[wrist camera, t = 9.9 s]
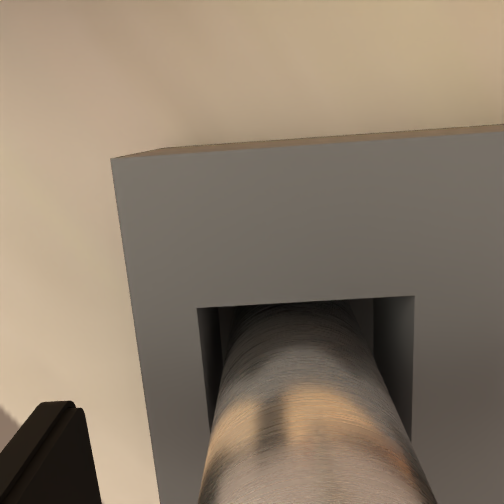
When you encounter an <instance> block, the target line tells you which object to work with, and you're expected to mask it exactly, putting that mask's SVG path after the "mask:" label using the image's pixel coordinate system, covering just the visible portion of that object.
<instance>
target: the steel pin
mask: <svg viewBox="0 0 504 504" xmlns="http://www.w3.org/2000/svg"><path fill="white" fill-rule="evenodd" d="M198 504H438V503H437V501H436V498H435V496H434V494H433V492H432V489H431V487H430V485H429V483H428V480H427V478H426V476H425V473H424V471H423V469H422V467H421V464H420V462H419V460H418V458H417V455H416V453H415V451H414V449H413V446H412V444H411V442H410V440H409V437H408V435H407V433H406V430H405V428H404V426H403V424H402V421H401V419H400V417H399V415H398V412H397V410H396V408H395V406H394V403H393V401H392V399H391V396H390V394H389V392H388V390H387V387H386V385H385V383H384V381H383V378H382V376H381V374H380V372H379V369H378V367H377V365H376V363H375V360H374V358H373V356H372V353H371V351H370V349H369V347H368V344H367V342H366V340H365V338H364V335H363V333H362V331H361V329H360V326H359V324H358V322H357V320H356V317H355V315H354V313H353V310H352V308H351V306H350V304H349V302H348V300H347V299H344V300H327V301H309V302H292V303H275V304H257V305H240V306H236V308H235V311H234V314H233V318H232V323H231V329H230V334H229V339H228V345H227V350H226V355H225V361H224V366H223V371H222V376H221V382H220V387H219V392H218V398H217V403H216V408H215V414H214V419H213V424H212V430H211V435H210V440H209V445H208V451H207V456H206V461H205V467H204V472H203V477H202V483H201V488H200V493H199V498H198Z"/></svg>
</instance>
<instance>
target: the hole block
mask: <svg viewBox="0 0 504 504" xmlns="http://www.w3.org/2000/svg"><path fill="white" fill-rule="evenodd" d="M110 160H111V167H112V174H113V181H114V188H115V195H116V202H117V208H118V215H119V222H120V229H121V236H122V243H123V250H124V257H125V264H126V271H127V278H128V284H129V291H130V298H131V305H132V312H133V319H134V326H135V333H136V340H137V347H138V354H139V360H140V367H141V374H142V381H143V388H144V395H145V402H146V409H147V416H148V423H149V430H150V436H151V443H152V450H153V457H154V464H155V471H156V478H157V485H158V492H159V499H160V504H198V498H199V493H200V488H201V483H202V477H203V472H204V467H205V461H206V456H207V451H208V445H209V440H210V435H211V430H212V424H213V419H214V414H215V408H216V403H217V398H218V392H219V387H220V382H221V376H222V371H223V366H224V361H225V355H226V350H227V345H228V339H229V334H230V329H231V323H232V318H233V314H234V311H235V308H236V306H240V305H257V304H275V303H292V302H309V301H327V300H344V299H347V300H348V302H349V304H350V306H351V308H352V310H353V313H354V315H355V317H356V320H357V322H358V324H359V326H360V329H361V331H362V333H363V335H364V338H365V340H366V342H367V344H368V347H369V349H370V351H371V353H372V356H373V358H374V360H375V363H376V365H377V367H378V369H379V372H380V374H381V376H382V378H383V381H384V383H385V385H386V387H387V390H388V392H389V394H390V396H391V399H392V401H393V403H394V406H395V408H396V410H397V412H398V415H399V417H400V419H401V421H402V424H403V426H404V428H405V430H406V433H407V435H408V437H409V440H410V442H411V444H412V446H413V449H414V451H415V453H416V455H417V458H418V460H419V462H420V464H421V467H422V469H423V471H424V473H425V476H426V478H427V480H428V483H429V485H430V487H431V489H432V492H433V494H434V496H435V498H436V501H437V503H438V504H504V124H500V125H486V126H471V127H457V128H443V129H429V130H414V131H400V132H386V133H371V134H357V135H343V136H328V137H314V138H300V139H285V140H271V141H257V142H242V143H228V144H214V145H200V146H185V147H171V148H161V149H156V150H151V151H146V152H141V153H136V154H131V155H126V156H121V157H116V158H111V159H110Z"/></svg>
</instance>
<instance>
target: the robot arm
mask: <svg viewBox="0 0 504 504" xmlns="http://www.w3.org/2000/svg"><path fill="white" fill-rule="evenodd" d="M0 504H102V502H101V497H100V492H99V486H98V481H97V476H96V470H95V465H94V460H93V455H92V449H91V444H90V439H89V434H88V428H87V423H86V418H85V413H84V411H83V409H82V408H76V406H75V404H74V402H72V401H55V402H42V403H40V404H39V405H38V406H37V407H36V409H35V410H34V411H33V412H32V414H31V415H30V416H29V417H28V419H27V420H26V421H25V423H24V424H23V425H22V426H21V428H20V429H19V430H18V431H17V433H16V434H15V435H14V437H13V438H12V439H11V440H10V442H9V443H8V444H7V445H6V447H5V448H4V449H3V450H2V452H1V453H0Z"/></svg>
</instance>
